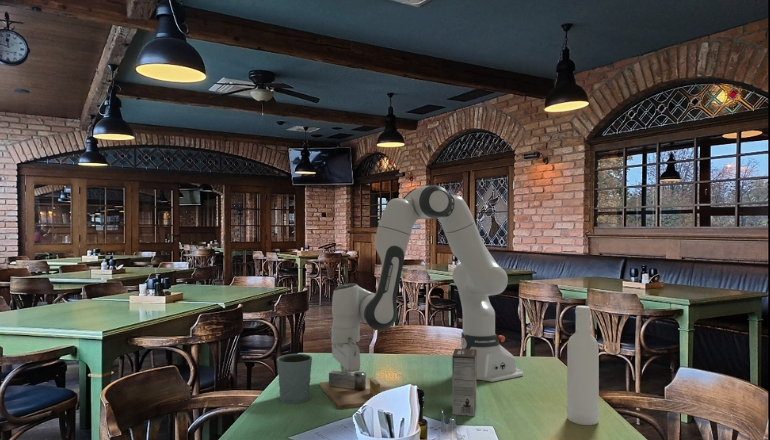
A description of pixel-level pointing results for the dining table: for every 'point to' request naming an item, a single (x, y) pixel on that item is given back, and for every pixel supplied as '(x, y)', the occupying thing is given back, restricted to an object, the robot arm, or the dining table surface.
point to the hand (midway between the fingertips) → (345, 378)
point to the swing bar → (348, 380)
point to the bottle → (583, 372)
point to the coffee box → (464, 382)
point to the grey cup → (294, 377)
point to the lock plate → (354, 393)
